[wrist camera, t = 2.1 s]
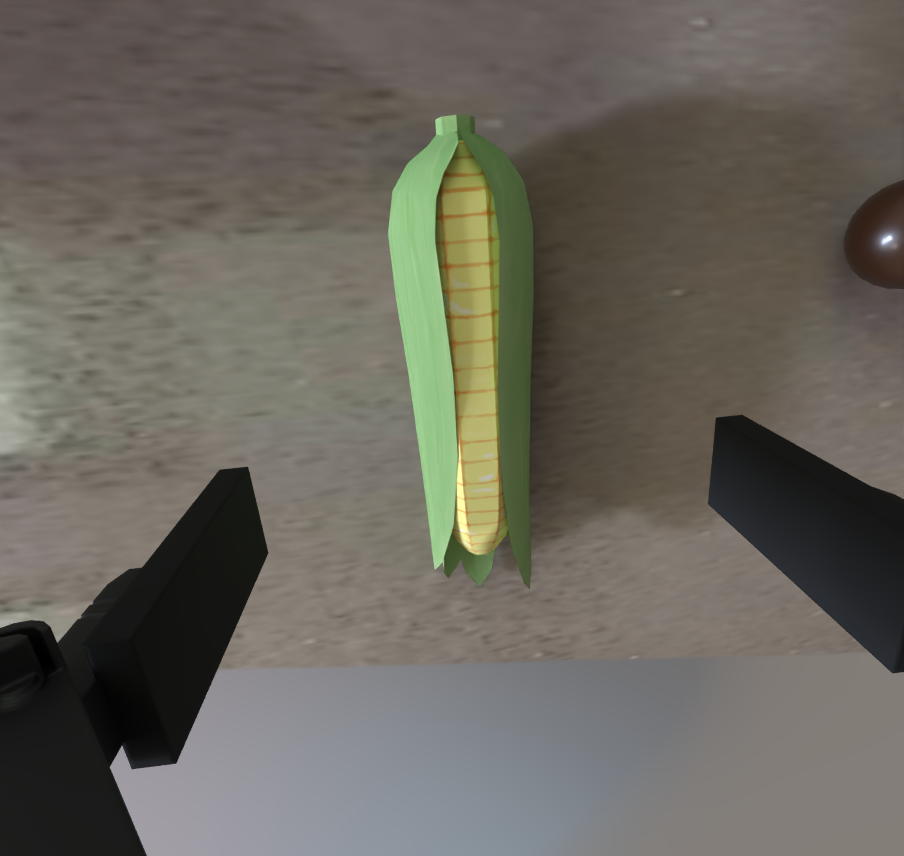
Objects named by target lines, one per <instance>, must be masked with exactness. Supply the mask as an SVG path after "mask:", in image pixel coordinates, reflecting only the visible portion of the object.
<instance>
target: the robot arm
mask: <svg viewBox="0 0 904 856" xmlns="http://www.w3.org/2000/svg"><path fill="white" fill-rule="evenodd" d="M708 504H709V505H710V506H711V507H712V508H713V509H714V510H715V511H716V512H717V513H718V514H720V515H721V516H722V517H723V518H724V519H725V520H726V521H727V522H728V523H729V524H730V525H731V526H733V527H734V528H735V529H736V530H737V531H738V532H739V533H740V534H741V535H742V536H743V537H745V538H746V539H747V540H748V541H749V542H750V543H751V544H752V545H753V546H754V547H755V548H757V549H758V550H759V551H760V552H761V553H762V554H763V555H764V556H765V557H766V558H767V559H769V560H770V561H771V562H772V563H773V564H774V565H775V566H776V567H777V568H778V569H779V570H781V571H782V572H783V573H784V574H785V575H786V576H787V577H788V578H789V579H790V580H791V581H793V582H794V583H795V584H796V585H797V586H798V587H799V588H800V589H801V590H802V591H803V592H804V593H806V594H807V595H808V596H809V597H810V598H811V599H812V600H813V601H814V602H815V603H816V604H818V605H819V606H820V607H821V608H822V609H823V610H824V611H825V612H826V613H827V614H828V615H830V616H831V617H832V618H833V619H834V620H835V621H836V622H837V623H838V624H839V625H840V626H842V627H843V628H844V629H845V630H846V631H847V632H848V633H849V634H850V635H851V636H852V637H854V638H855V639H856V640H857V641H858V642H859V643H860V644H861V645H862V646H863V647H864V648H865V649H867V650H868V651H869V652H870V653H871V654H872V655H873V656H874V657H875V658H876V659H878V660H879V661H880V662H881V663H882V664H883V665H884V666H885V667H886V668H887V669H888V670H890V671H891V672H892V673H899V672H904V499H902V498H900V497H898V496H897V495H895V494H892V493H889V492H886V491H883V490H880V489H877V488H874V487H871V486H869V485H867V484H866V483H864V482H862V481H860V480H858V479H857V478H855V477H853V476H851V475H849V474H848V473H846V472H844V471H842V470H840V469H839V468H837V467H835V466H833V465H831V464H830V463H828V462H826V461H824V460H822V459H821V458H819V457H817V456H815V455H813V454H812V453H810V452H808V451H806V450H804V449H803V448H801V447H799V446H797V445H795V444H794V443H792V442H790V441H788V440H786V439H785V438H783V437H781V436H779V435H777V434H776V433H774V432H772V431H770V430H768V429H767V428H765V427H763V426H761V425H759V424H758V423H756V422H754V421H752V420H750V419H749V418H747V417H745V416H743V415H738V416H728V417H719V418H716V424H715V434H714V445H713V456H712V467H711V478H710V488H709V499H708ZM267 555H268V550H267V545H266V541H265V537H264V532H263V528H262V524H261V520H260V515H259V511H258V507H257V503H256V498H255V494H254V490H253V486H252V481H251V477H250V473H249V469H248V467H241V468H232V469H222V470H219V471H218V473H217V474H216V475H215V476H214V478H213V479H212V480H211V481H210V483H209V484H208V485H207V486H206V488H205V489H204V490H203V492H202V493H201V494H200V495H199V497H198V498H197V499H196V500H195V502H194V503H193V504H192V505H191V507H190V508H189V509H188V510H187V512H186V513H185V514H184V516H183V517H182V518H181V519H180V521H179V522H178V523H177V524H176V526H175V527H174V528H173V529H172V531H171V532H170V533H169V534H168V536H167V537H166V538H165V539H164V541H163V542H162V543H161V545H160V546H159V547H158V548H157V550H156V551H155V552H154V553H153V555H152V556H151V557H150V558H149V560H148V561H147V562H146V563H145V565H144V566H143V567H142V568H135V569H129V570H127V571H126V572H124V573H123V574H122V575H120V576H119V577H117V578H116V579H115V580H113V581H112V582H110V583H109V584H108V585H107V586H106V587H105V588H104V589H103V590H102V591H101V593H100V594H99V595H98V596H97V597H96V598H95V600H94V601H93V605H90V606H89V607H88V608H87V609H86V610H85V611H84V613H83V614H82V615H81V619H78V620H77V621H76V622H75V623H74V624H73V625H72V627H71V628H70V629H69V630H68V631H67V633H66V634H65V635H64V636H63V637H62V638H61V640H60V641H59V642H58V643H57V642H56V639H55V637H54V634H53V632H52V630H51V627H50V626H49V625H47V624H46V623H45V622H44V621H33V620H30V621H24V622H19V623H13V624H11V625H8V626H5V627H2V628H0V856H147V855H146V853H145V850H144V848H143V845H142V843H141V841H140V838H139V836H138V834H137V831H136V829H135V826H134V824H133V822H132V819H131V817H130V815H129V812H128V810H127V807H126V805H125V803H124V800H123V798H122V795H121V793H120V791H119V788H118V786H117V783H116V781H115V779H114V776H113V774H112V772H111V769H110V766H111V764H112V762H113V760H114V758H115V757H116V755H117V753H118V751H119V749H120V748H121V746H123V748H124V751H125V753H126V756H127V758H128V761H129V763H130V766H131V768H132V769H136V768H145V767H153V766H161V765H169V764H176V763H177V761H178V758H179V756H180V753H181V751H182V749H183V747H184V745H185V742H186V740H187V738H188V735H189V733H190V731H191V728H192V726H193V724H194V722H195V719H196V717H197V715H198V712H199V710H200V708H201V706H202V703H203V701H204V699H205V696H206V694H207V692H208V690H209V687H210V685H211V682H212V680H213V678H214V676H215V674H216V671H217V669H218V667H219V664H220V662H221V660H222V658H223V655H224V653H225V651H226V648H227V646H228V644H229V642H230V639H231V637H232V635H233V632H234V630H235V628H236V626H237V623H238V621H239V619H240V616H241V614H242V612H243V610H244V607H245V605H246V603H247V600H248V598H249V596H250V594H251V591H252V589H253V587H254V584H255V582H256V580H257V578H258V575H259V573H260V571H261V568H262V566H263V564H264V562H265V559H266V557H267Z"/></svg>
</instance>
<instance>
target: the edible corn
mask: <svg viewBox="0 0 904 856" xmlns="http://www.w3.org/2000/svg"><path fill="white" fill-rule="evenodd" d="M435 122H436V136H435V137H434V138H433V140H432V141H431V142H430V144H429V145H428V146H427V147H426V148H425V149H424V150H422V151H421V152H420V153H419V154H418V155H417V156H416V157H414V158H413V159H412V160H411V161H410V162H409V163H408V164H407V165H406V167H405V169H404V171H403V173H402V175H401V176H400V178H399V180H398V182H397V184H396V186H395V188H394V190H393V192H392V202H391V211H390V221H389V230H388V236H389V244H390V253H391V261H392V269H393V278H394V286H395V294H396V300H397V306H398V312H399V318H400V324H401V331H402V337H403V343H404V349H405V355H406V361H407V367H408V373H409V380H410V387H411V394H412V401H413V408H414V415H415V422H416V429H417V437H418V444H419V451H420V458H421V465H422V472H423V480H424V488H425V496H426V504H427V512H428V520H429V528H430V536H431V544H432V552H433V560H434V568H435V569H436V568H437V567H438V566H439V565H440V564H441V563H442V562H443V566H444V573H445V574H446V576H447V577H448V578H449V577H450V575H451V574H452V572H453V571H454V569H455V567H456V566H457V564H458V563H459V561H460V560H461V559H462V562H463V565H464V568H465V570H466V573H467V575H468V576H469V577H470V578H471V579H472V580H474V581H475V582H476V583H477V584H478V585H479V586H481V585H482V583H483V582H484V580H485V579H486V577H487V576H488V574H489V573H490V571H491V569H492V564H493V559H494V554H495V549H496V547H497V546H498V545H499V544H500V542H501V541H502V540H503V539H504V537H505V536H506V535H507V534H508V535H509V536H510V543H511V548H512V550H513V553H514V556H515V559H516V562H517V564H518V567H519V570H520V573H521V575H522V578H523V581H524V583H525V585H526V586H527V587H528V588H529V589H530V576H531V530H530V489H529V480H530V399H531V359H532V330H533V301H534V236H533V222H532V217H531V212H530V208H529V203H528V198H527V194H526V189H525V184H524V181H523V179H522V178H521V176H520V175H519V173H518V172H517V170H516V168H515V167H514V165H513V164H512V162H511V161H510V159H509V158H508V156H507V154H506V153H504V152H503V151H501V150H500V149H499V148H497V147H496V146H495V145H493V144H492V143H490V142H489V141H488V140H486V139H485V138H484V137H482V136H479V135H477V134H475V124H474V117H473V116H471V115H452V116H445V117H440V118H438V119H436V120H435Z"/></svg>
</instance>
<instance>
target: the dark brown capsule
mask: <svg viewBox="0 0 904 856" xmlns="http://www.w3.org/2000/svg"><path fill="white" fill-rule="evenodd" d="M844 251H845V256H846V259H847V262H848V264H849V266H850V267H851V269H852V270H853V271H854V272H855V273H856V274H857V275H858V276H859V277H860V278H862V279H863V280H865V281H867V282H869V283H871V284H872V285H876V286H880V287H884V288H888V289H904V180H902V181H899V182H897V183H894V184H892V185H890V186H887V187H885V188H883V189H882V190H880V191H879V192H877V193H876V194H874V195H873V196H871V197H870V198H869V199H868V200H867V201H866V202H864V203H863V204H862V206H861V207H860V208H859V209H858V210H857V211H856V213H855V214H854V215H853V217H852V219H851V221H850V222H849V225H848V228H847V230H846V234H845V238H844Z"/></svg>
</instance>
